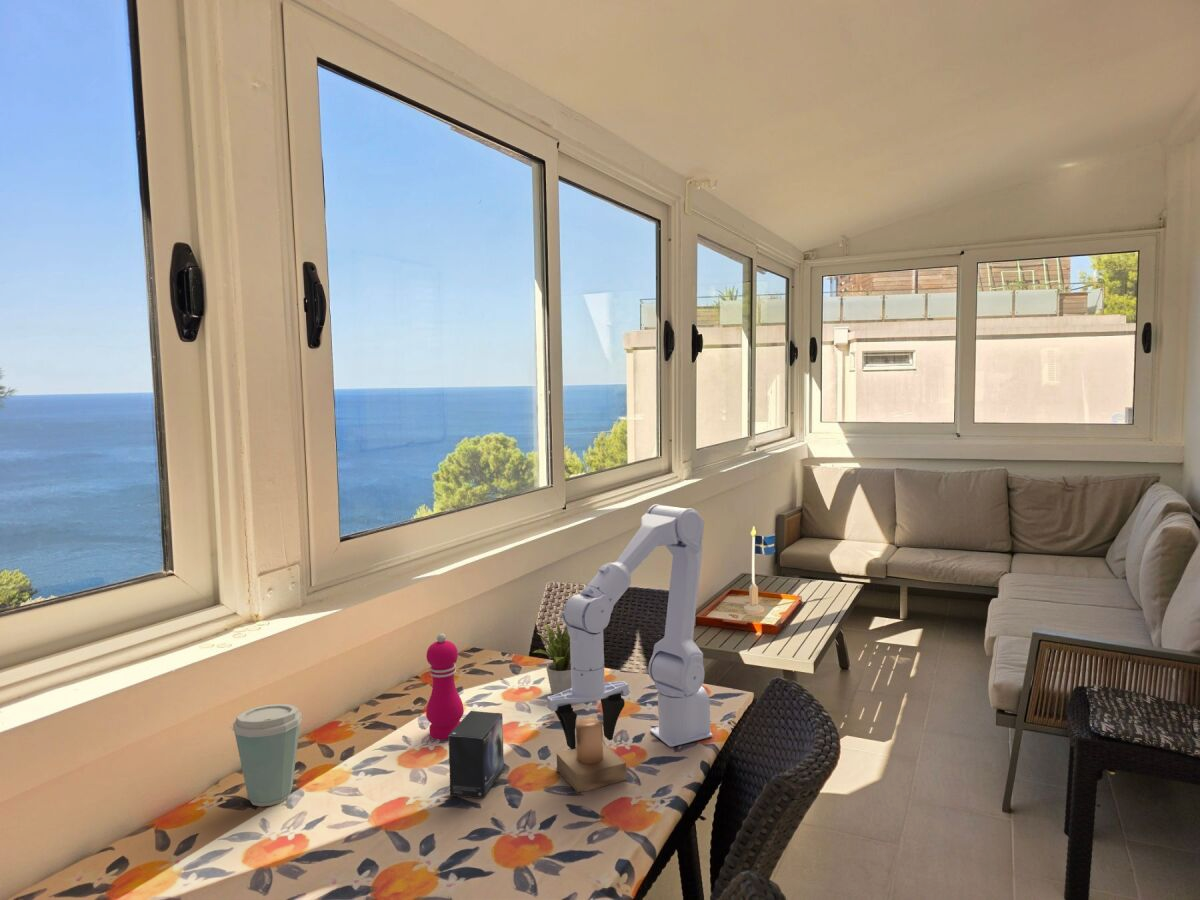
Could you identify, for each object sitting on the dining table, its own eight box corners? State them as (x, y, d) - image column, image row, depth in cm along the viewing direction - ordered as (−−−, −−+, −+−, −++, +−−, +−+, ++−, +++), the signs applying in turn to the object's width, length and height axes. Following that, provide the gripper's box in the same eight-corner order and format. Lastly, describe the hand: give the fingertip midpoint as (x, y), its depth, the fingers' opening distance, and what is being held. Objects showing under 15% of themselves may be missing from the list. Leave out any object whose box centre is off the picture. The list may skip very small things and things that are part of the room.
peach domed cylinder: (597, 749, 139) (596, 716, 139) (607, 760, 135) (606, 726, 135) (572, 754, 137) (571, 721, 137) (582, 765, 133) (581, 731, 133)
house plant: (596, 707, 165) (594, 631, 164) (530, 709, 165) (527, 633, 164) (597, 682, 179) (595, 611, 178) (536, 683, 179) (534, 613, 178)
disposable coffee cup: (238, 789, 135) (232, 704, 134) (305, 775, 139) (300, 693, 138) (236, 820, 125) (230, 728, 124) (308, 804, 129) (303, 715, 128)
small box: (486, 800, 129) (483, 737, 128) (448, 797, 130) (445, 735, 130) (506, 769, 139) (504, 711, 139) (471, 766, 141) (469, 709, 140)
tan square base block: (603, 758, 142) (602, 742, 142) (626, 779, 134) (625, 762, 134) (557, 769, 138) (556, 753, 138) (577, 792, 130) (577, 775, 130)
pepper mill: (419, 738, 153) (414, 637, 151) (440, 723, 159) (436, 626, 158) (451, 743, 150) (446, 641, 148) (471, 728, 157) (467, 629, 155)
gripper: (615, 651, 141) (617, 724, 142) (539, 665, 135) (542, 742, 136) (633, 663, 135) (635, 739, 136) (554, 678, 129) (557, 759, 130)
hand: (590, 742), depth 136 cm, fingers open, 6 cm apart
